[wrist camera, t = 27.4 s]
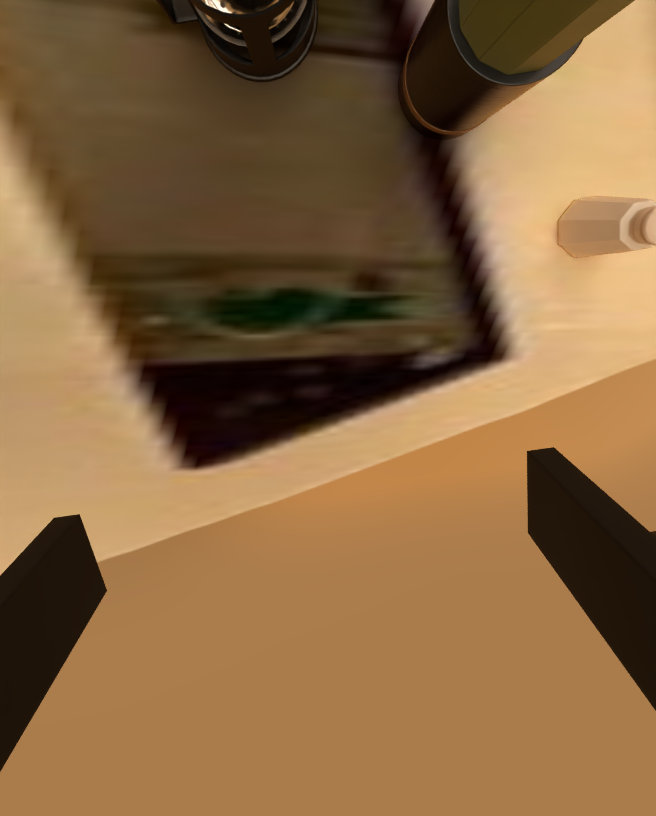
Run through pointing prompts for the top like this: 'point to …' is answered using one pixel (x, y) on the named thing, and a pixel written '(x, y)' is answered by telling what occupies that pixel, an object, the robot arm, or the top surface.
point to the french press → (250, 32)
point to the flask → (456, 78)
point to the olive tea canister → (530, 29)
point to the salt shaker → (607, 226)
